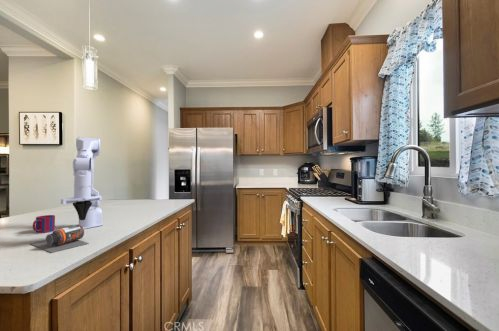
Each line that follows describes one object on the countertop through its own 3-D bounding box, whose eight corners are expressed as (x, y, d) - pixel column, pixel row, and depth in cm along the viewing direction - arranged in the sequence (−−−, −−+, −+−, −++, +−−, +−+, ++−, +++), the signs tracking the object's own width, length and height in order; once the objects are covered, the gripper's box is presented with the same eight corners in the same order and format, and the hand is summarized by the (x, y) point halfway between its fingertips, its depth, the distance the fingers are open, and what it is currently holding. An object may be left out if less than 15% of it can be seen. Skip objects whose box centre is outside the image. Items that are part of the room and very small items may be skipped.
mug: (58, 229, 114) (58, 215, 114) (39, 235, 104) (39, 219, 104) (44, 229, 115) (45, 214, 115) (24, 235, 105) (24, 219, 105)
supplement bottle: (83, 241, 98) (52, 251, 87) (73, 235, 100) (42, 244, 89) (86, 227, 97) (55, 235, 87) (76, 221, 99) (44, 229, 88)
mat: (66, 236, 103) (66, 235, 103) (88, 243, 94) (88, 243, 94) (30, 244, 93) (30, 243, 93) (50, 253, 83) (50, 252, 83)
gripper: (67, 188, 92) (66, 224, 92) (106, 186, 104) (105, 217, 104) (58, 187, 95) (57, 222, 95) (97, 185, 108) (96, 215, 108)
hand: (82, 219), depth 100 cm, fingers closed
